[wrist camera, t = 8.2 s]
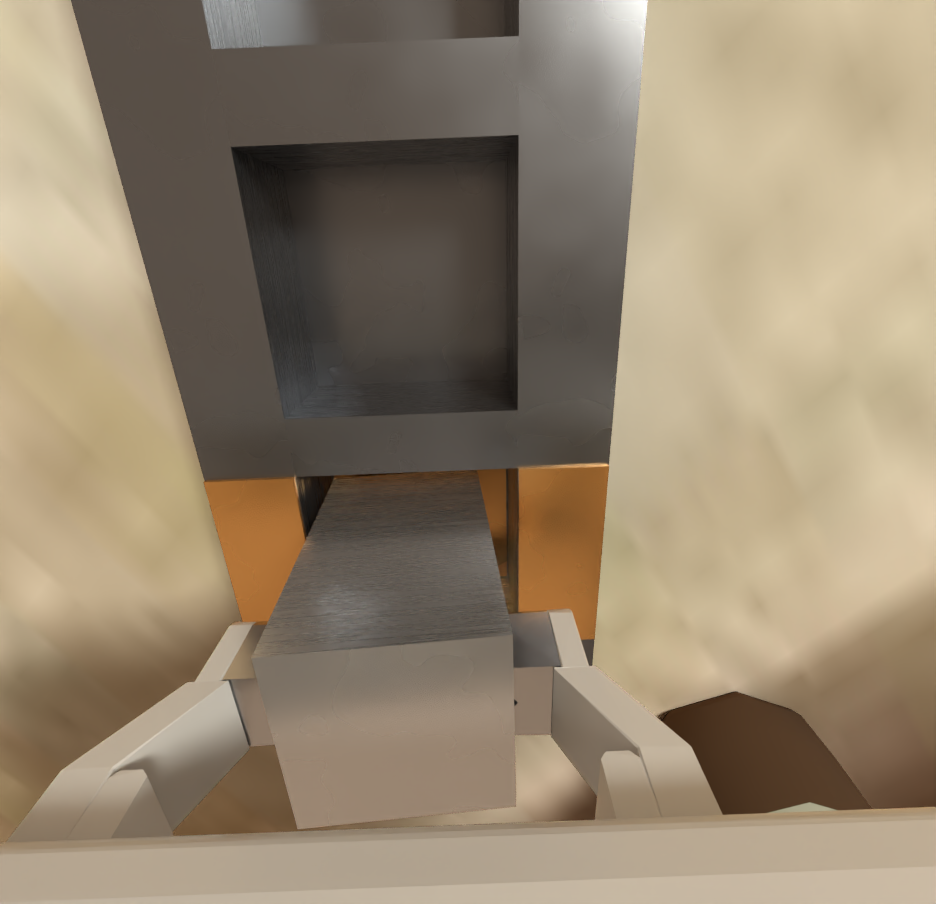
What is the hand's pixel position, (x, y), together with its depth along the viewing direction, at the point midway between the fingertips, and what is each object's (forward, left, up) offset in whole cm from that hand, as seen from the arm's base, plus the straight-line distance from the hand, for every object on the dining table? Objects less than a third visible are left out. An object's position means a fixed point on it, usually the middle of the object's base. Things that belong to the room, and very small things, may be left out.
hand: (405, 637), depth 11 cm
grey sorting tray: (0, -7, -6) cm, 9 cm away
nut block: (0, 0, -5) cm, 5 cm away
